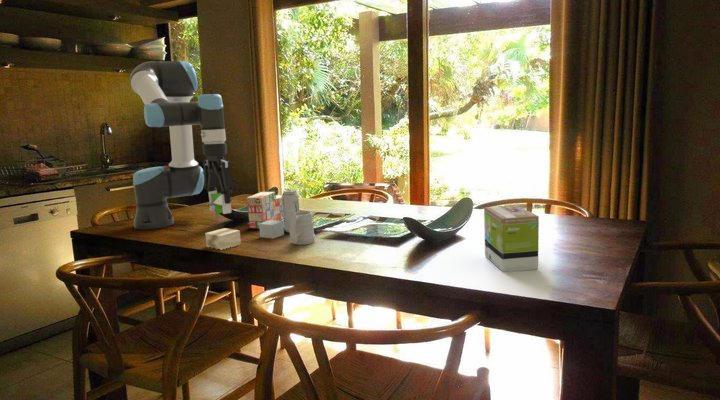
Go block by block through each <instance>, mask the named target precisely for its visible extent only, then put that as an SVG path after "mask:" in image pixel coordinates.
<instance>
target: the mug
mask: <svg viewBox="0 0 720 400" xmlns="http://www.w3.org/2000/svg"><path fill="white" fill-rule="evenodd" d="M314 224H315V221H314V219H313V213H312V211H306V210H304V211H300V212H295V211H293V210H291V219H290V229H289V232H288V233H289V238H290V240H291V242H292V244H295V245H301V246H302V245H309V244H313V243H314V242H315V241H316V240H315V239H316V234H315V229H314Z"/></svg>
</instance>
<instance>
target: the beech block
mask: <svg viewBox="0 0 720 400" xmlns="http://www.w3.org/2000/svg"><path fill="white" fill-rule="evenodd" d="M204 234H205V243H206V244H205V245H206V248H209V247H211V248H210V249H213V248H215V249H214V250H218V249H220V251H223V249H224V250H227V249H230V247H231V248H234V247H237V245H238V246H241V245H242V241H241V231H240V230H238V229H232V228H227V227H226V228H225V227H224V228H220V229H216V230H212V231H208V232H205V233H204ZM240 244H241V245H240ZM226 248H227V249H226Z"/></svg>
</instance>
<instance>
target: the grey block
mask: <svg viewBox="0 0 720 400" xmlns="http://www.w3.org/2000/svg"><path fill="white" fill-rule="evenodd" d="M258 229H259V237H260V238H263V239H264V238H265V239H276V238H279V237H282V236H285V229H284V220H283V221H281V220H279V221H274V220H269V221H266V222H263V223H260V224H259V228H258Z"/></svg>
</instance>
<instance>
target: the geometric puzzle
mask: <svg viewBox="0 0 720 400" xmlns="http://www.w3.org/2000/svg"><path fill="white" fill-rule="evenodd" d="M211 195H212V198H213V199H212V200H213V201H212V202H213V203H212V202H211V203H212V204H211V205H210V204H208V205H207V207H208V208H209V209H210V208H211V207H210V206H212V205H215V209H216V210H215V214H216V215H217V214H223V209H222V198H221V192H217V193H216V194H211ZM230 201H232V199H230Z"/></svg>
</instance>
